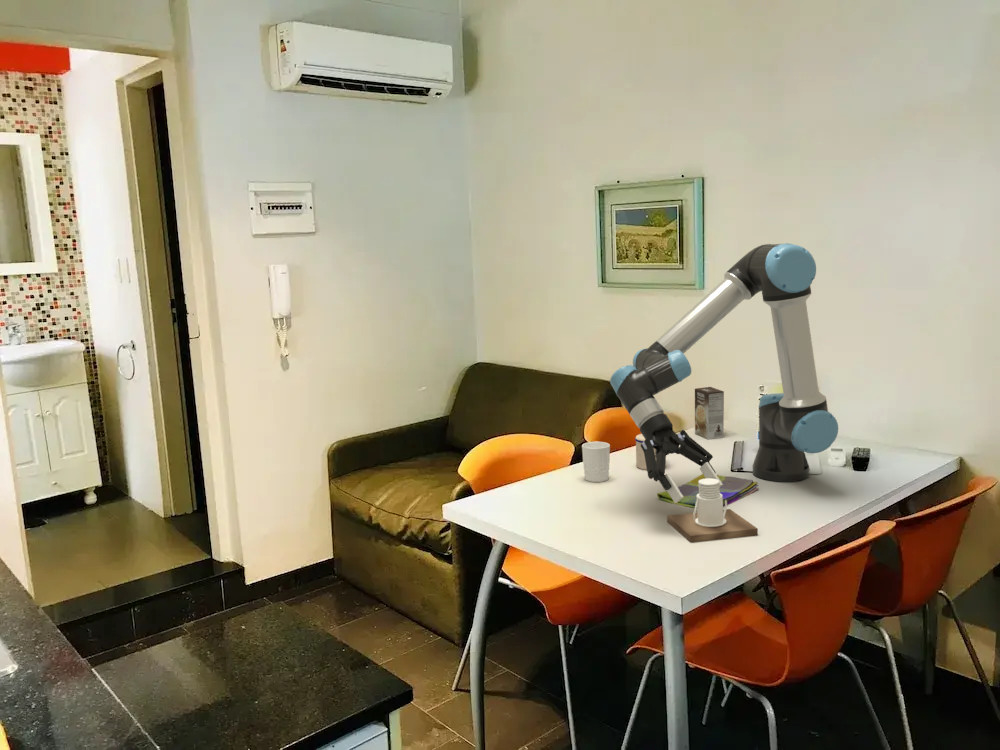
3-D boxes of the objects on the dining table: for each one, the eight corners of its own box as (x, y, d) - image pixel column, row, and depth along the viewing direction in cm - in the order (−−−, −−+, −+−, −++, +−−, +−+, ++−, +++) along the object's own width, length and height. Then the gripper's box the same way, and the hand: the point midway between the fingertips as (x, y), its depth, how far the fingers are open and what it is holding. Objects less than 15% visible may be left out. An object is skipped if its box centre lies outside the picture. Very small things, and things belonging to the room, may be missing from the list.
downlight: (720, 515, 190) (718, 474, 188) (733, 525, 183) (731, 483, 181) (688, 520, 188) (686, 479, 187) (700, 530, 182) (698, 488, 180)
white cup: (610, 474, 232) (609, 441, 230) (611, 482, 224) (610, 448, 223) (582, 475, 233) (581, 441, 231) (582, 483, 225) (581, 448, 224)
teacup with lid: (656, 472, 232) (655, 433, 230) (629, 467, 238) (628, 429, 236) (677, 463, 241) (676, 425, 239) (651, 458, 247) (650, 421, 245)
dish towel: (653, 501, 209) (653, 490, 208) (703, 479, 225) (703, 469, 225) (713, 514, 196) (713, 504, 196) (761, 490, 213) (761, 480, 213)
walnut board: (729, 515, 194) (729, 509, 194) (757, 534, 180) (757, 528, 180) (667, 521, 192) (667, 515, 191) (690, 542, 178) (690, 535, 178)
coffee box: (693, 434, 275) (693, 388, 273) (710, 432, 277) (710, 386, 274) (707, 439, 267) (707, 392, 264) (724, 437, 268) (724, 390, 266)
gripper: (678, 421, 207) (725, 490, 197) (607, 438, 193) (653, 513, 183) (694, 404, 201) (743, 474, 192) (622, 420, 187) (670, 497, 178)
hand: (699, 493), depth 187 cm, fingers open, 13 cm apart
